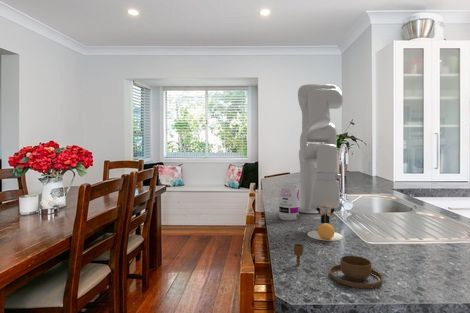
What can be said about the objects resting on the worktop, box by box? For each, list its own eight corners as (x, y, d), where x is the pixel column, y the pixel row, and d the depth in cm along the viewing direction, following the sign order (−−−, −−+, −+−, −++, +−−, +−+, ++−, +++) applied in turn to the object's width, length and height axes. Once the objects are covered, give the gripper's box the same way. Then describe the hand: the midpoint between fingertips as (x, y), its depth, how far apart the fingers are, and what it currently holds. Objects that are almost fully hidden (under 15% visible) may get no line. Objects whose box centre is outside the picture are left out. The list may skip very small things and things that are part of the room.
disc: (308, 229, 120) (308, 229, 120) (342, 232, 116) (342, 232, 116) (306, 238, 108) (306, 238, 108) (344, 242, 105) (344, 241, 105)
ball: (317, 240, 110) (317, 223, 112) (334, 241, 108) (334, 225, 110) (317, 238, 105) (317, 221, 107) (335, 239, 103) (334, 222, 105)
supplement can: (297, 216, 141) (297, 183, 140) (299, 221, 133) (299, 185, 132) (278, 216, 142) (279, 182, 141) (279, 220, 134) (280, 184, 133)
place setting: (348, 299, 67) (349, 271, 67) (288, 266, 85) (289, 244, 85) (400, 283, 76) (401, 258, 75) (336, 256, 93) (337, 236, 93)
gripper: (346, 176, 122) (345, 224, 122) (306, 175, 126) (305, 221, 126) (347, 178, 114) (346, 229, 115) (305, 177, 118) (304, 226, 119)
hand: (324, 225), depth 121 cm, fingers closed
